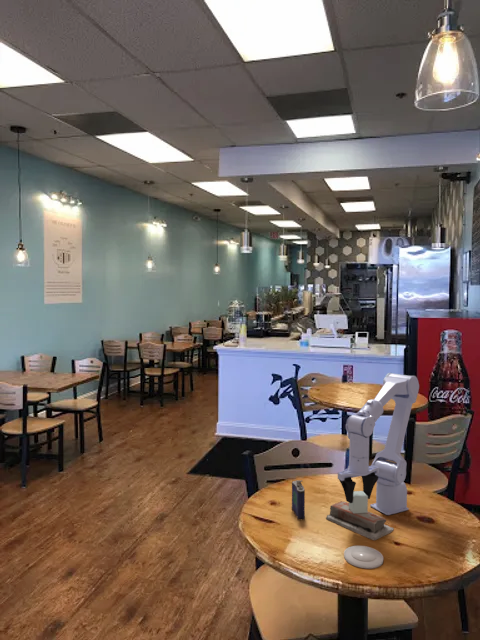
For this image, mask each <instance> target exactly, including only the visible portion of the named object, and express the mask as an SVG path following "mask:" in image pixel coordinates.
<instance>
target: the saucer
mask: <svg viewBox="0 0 480 640" xmlns="http://www.w3.org/2000/svg"><path fill="white" fill-rule="evenodd" d="M343 557H344V560H345V561H346V562H347V563H348V564H349V565H352V566H354V567H356V568H360V569H367V570H368V569H376V568H379V567H381V566H382V565H383V563H384V555H383V554H382V553H381V551H379V550H378V549H375V548H373V547H370V546H366V545H352V546H351V545H350V546H349V547H346V548H345V550H344V551H343Z"/></svg>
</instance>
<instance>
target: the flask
mask: <svg viewBox="0 0 480 640" xmlns="http://www.w3.org/2000/svg"><path fill="white" fill-rule="evenodd" d="M302 482H303V480H298V479H296V480H294V481H292V482H291V510H292V511H293V513H294V515H295V516H296V518H297V520H299V521H303V520H305V518H306V515H305V513H306V512H305V504H306V503H305V498H306V496H305V494H306V491H305V490H306V489H305V487H304V485H303V484H302Z"/></svg>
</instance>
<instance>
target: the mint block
mask: <svg viewBox="0 0 480 640" xmlns="http://www.w3.org/2000/svg"><path fill="white" fill-rule="evenodd" d="M348 503H349V502H348ZM368 504H369V499H368V496H367V495H366V494H365V493H364V492H363V490H354V493H353V502H352V503H349V509H350V510H351V511H352V512H353V513H367V512H369V511H368V509H369V507H368V506H369V505H368Z"/></svg>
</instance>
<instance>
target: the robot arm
mask: <svg viewBox="0 0 480 640" xmlns="http://www.w3.org/2000/svg"><path fill="white" fill-rule="evenodd" d="M384 376H385V377H384V378H383V381H382V387H381V388H380V390H379V392H378V393H377V394H376V395H375V397H374V398H373V399H368V400H367V401H366V402H365V404H364V405H363V406H362V407H361V408H360V409H359V411H357V412H356V414H352V415H349V417H348V418H347V419H346V424H345V430H346V433H347V438H348V439H349V448H348V449H349V453H348V454H349V457H348V458H349V459H348V460H349V461H348V466H347V468H346V469H343V470H342V471H339V472H337V480H338V481H339V482H340V485H341V487H342V489H343V492H344V496H345V502H347V503H352V502H353V493H354V491H355V488H356V484H357V482H356V481H354V480H353V479H354V478H357V477H361V480H362V481H361V482H362V491H363V492H364V493H365V494H366V495H367V496H368V500H370V499H371V497H372V496H371V495H372V492H373V490H374V487H375V486H376V489H375V490H376V491H375V492H376V495H375V498H376V499H375V503H371V504H370V505H369V507H371V508H373V509H375V510H376V511H379V512H380V513H382V514H384V515H385V516H390V515H394V514H398V513H402V512H406V511H408V510H409V507H407V506H408V504H407V503H408V489H407V485H406V483H405V482H404V481H405V479H406V476H407V460H405V458H404V457H403V455H402V454H401V453H402V450H403V449H402V448H403V445H404V440H405V437H406V436H405V435H406V433H407V427H408V423H409V419H410V415H411V411H412V407H413V404H415V403H416V402H417V399H418V394H419V391H420V390H419V389H420V384H419V380H418V377H417V376H416V375H409V374H408V375H406V374H399V373H392V372H388V373H387V374H386V375H384ZM390 400H393V401H394V402H395V403H394V404H395V405H394V409H393V413H392V416H391V420H390V425H389V428H388V429H389V430H388V433H387V436H386V440H385V445H384V449H382V450H381V451H379V452H376V454H375V457H374V459H373V461H372V463H371V465H369V463H370V462H369V461H370V436H371V435H372V434H373V432H374V428H375V426H376V422H377V421H378V420H379V419H380V417H381V416H382V415H383V414H384V407H385V405H386V404H388V403H389V401H390Z"/></svg>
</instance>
